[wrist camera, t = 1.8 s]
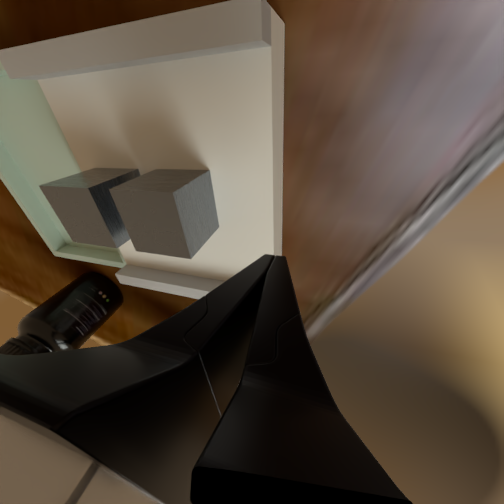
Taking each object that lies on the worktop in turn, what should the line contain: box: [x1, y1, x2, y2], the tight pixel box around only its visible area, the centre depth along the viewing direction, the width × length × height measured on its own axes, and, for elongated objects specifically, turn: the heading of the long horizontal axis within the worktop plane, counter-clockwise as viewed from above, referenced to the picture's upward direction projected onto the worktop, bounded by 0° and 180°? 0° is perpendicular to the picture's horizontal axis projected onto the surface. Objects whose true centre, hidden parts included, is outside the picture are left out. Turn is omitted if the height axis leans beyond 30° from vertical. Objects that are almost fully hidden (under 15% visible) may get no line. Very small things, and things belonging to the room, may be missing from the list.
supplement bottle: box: [0, 272, 123, 355], centre depth 28 cm, size 7×7×12 cm
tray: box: [0, 61, 126, 268], centre depth 22 cm, size 18×12×2 cm, turn 4°
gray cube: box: [39, 168, 141, 248], centre depth 16 cm, size 4×4×4 cm
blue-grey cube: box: [109, 169, 219, 259], centre depth 14 cm, size 4×4×4 cm
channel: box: [0, 0, 285, 299], centre depth 17 cm, size 17×15×4 cm
